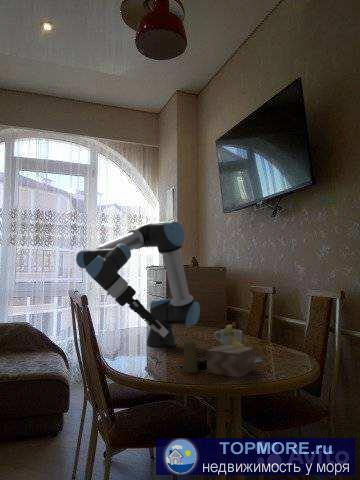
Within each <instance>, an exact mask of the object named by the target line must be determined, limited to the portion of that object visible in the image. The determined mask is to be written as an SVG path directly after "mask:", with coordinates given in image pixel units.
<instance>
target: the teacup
mask: <svg viewBox="0 0 360 480" xmlns="http://www.w3.org/2000/svg"><path fill="white" fill-rule="evenodd" d="M235 329H236V328H235ZM224 330H225V328H224V329H221V330H220V331H219V330H217V331H215V332H214V333H213V336H214V339H215V340H216V341H218V342H219V343H220V344H221V345H223V344H224V345H229V342H230V338H231V334H229V335H227V336H225V334H224ZM217 334H219V336H220V338H218V337H217ZM236 341H237V342H239V343H241V344H242V341H243V331H242V330H240V329H236Z"/></svg>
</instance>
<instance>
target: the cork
mask: <svg viewBox="0 0 360 480" xmlns="http://www.w3.org/2000/svg"><path fill="white" fill-rule="evenodd" d="M182 349H183V350H184V351H183V358H182V367H181V368H182V369H181V372H183V373H185V374H186V373H187V374H194V373H198V372H199V369H198V361H197V354H196V349H197V342H196V341H194V340H185V341H183V343H182Z"/></svg>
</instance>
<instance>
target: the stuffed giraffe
mask: <svg viewBox="0 0 360 480" xmlns="http://www.w3.org/2000/svg"><path fill="white" fill-rule="evenodd" d="M236 328H237V326H236V322H234V321H233V322H232V323H231V324H228V325H226V327H225V328H224V329H225V330H224V334H225V336H227V335H229V334H231V338H230V342H229V345H233V346H242V347H246V345H244V344H243V343H242V342H241V343H239V342H237V341H236ZM263 361H264V360H263V359H262V358H261V357H260V356H257V357H256V358H254V363H258V362H263Z"/></svg>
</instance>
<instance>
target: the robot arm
mask: <svg viewBox="0 0 360 480" xmlns="http://www.w3.org/2000/svg"><path fill="white" fill-rule="evenodd" d="M185 237H186V236H185V231H184V228H183V227H182V225H181V223H179V222H178V221H172V220H171V221H170V220H167V221H166V220H165V221H158V222H149V223H146V224H145V223H144V224H143V225H142V224H141V225H139V226H137V227H135V228H133V229H130V230H129V231H128V232H127V233H126V234H124V235H121V236H119V237H117V238H115V239H112V240H110V241H108V242H104V243H103V244H100V245H97V246H95V247H93V248H91V249H82V250H80V251H78V252H77V254H76V256H75V261H76V264H77V266H78V267H79V268H81V269H85V272H87V274H88V275H89V277H90V278H91V279H92V280H94V281H95V282H96V283H97V284H98V285H99V286H100V287H101V288H102V289H103V290H104V291H106V295H107V296H111V297H112V299H114V301H116V303H117V304H118V305H119V306H120V307H124V306H125V305H128V308H129V309H130V310H132V311H133V312H134V313H136V314H137V315H138V316H139V318H141V319H142V320H143V321H144V323H146V324H147V325H148V326H149V327H150V330H149V333H148V335H147V339H146V345H147V346H148V347H156V348H157V347H158V348H163V347H165V348H166V347H167V348H168V347H171V346H175V345H177V340H176V339H177V338H176V336H175V332H174V329H173V327H174V326H173V325H175V326H176V325H177V326H179V325H180V326H187V327H188V326H194V325H197V322H198V321H199V319H200V315H201V306H200V303H199V302H198V301H195V299H194V297H193V295H192V294H190V291H189V286H188V281H187V278H186V272H185V268H184V263H183V259H182V254H181V249H182V248H183V244H184V243H185V240H186V239H185ZM151 247H152V248H155V247H156V248H157V251H158V253H159V254H161V255H162V258H163V263H164V267H165V268H164V269H165V272H166V275H167V280H168V283H169V289H170V293H171V297H172V298H163V299H156V300H152V301H151V302H150V307H149V310H148V309H146V308H145V306H144V304H142V302H141V301H140V300H138V298H134V296H135V295H136V293H137V291H136V290H135V289H134V288H133V286H131V285H129V283H128V282H127V280H126V279H124V278H123V276H121V275H120V274H119V273H118V272H119V271H120V270H121V269H122V268H123V267H124V266H125V265H126V264H127V263H128V262H129V260H130V259H131V257H132V252H131V251H133V250H139V249H142V248H151ZM149 311H150V312H149Z"/></svg>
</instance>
